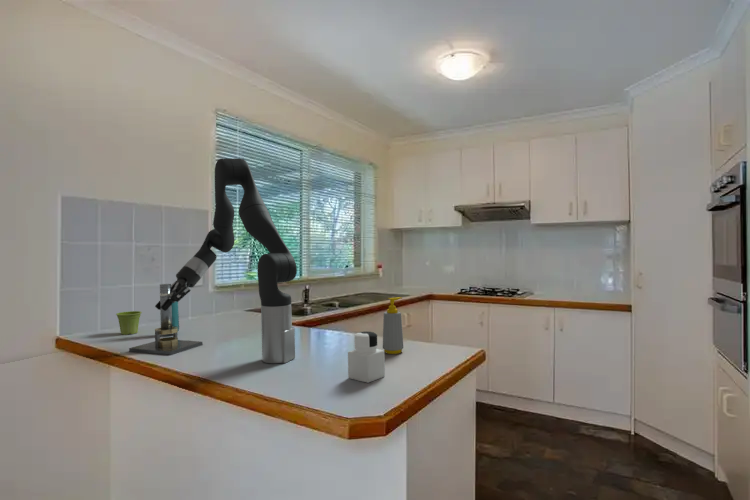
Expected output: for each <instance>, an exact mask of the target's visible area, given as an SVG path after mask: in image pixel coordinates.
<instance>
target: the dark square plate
mask: <svg viewBox="0 0 750 500" xmlns="http://www.w3.org/2000/svg"><path fill="white" fill-rule="evenodd" d="M178 332H179V331H178V327H177V326H174V327H172V329H170V330H161V327H158V328H155V329H154V338H155V339H154V341H151V342H147V343H143V344H140V345H136V346H133V347H128V352H129V353H141V354H142V353H143V354H149V355H150V354H152V355H164V356H173V355H176V354H178V353H182V352H185V351H188V350H192V349H194V348H197V347H201V346H203V341H197V340H182V339H181V340H180V339H179V338H178ZM171 334H172V336H167V337H161V336H162V335H164V336H165V335H171ZM160 335H161V336H160Z"/></svg>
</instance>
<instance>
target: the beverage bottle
mask: <svg viewBox="0 0 750 500" xmlns="http://www.w3.org/2000/svg"><path fill="white" fill-rule="evenodd" d="M179 317H180V313H179V301H178V302H175V303H172V327H174V326H177V327H178V332H179V330H180V318H179Z"/></svg>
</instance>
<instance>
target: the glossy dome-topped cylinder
mask: <svg viewBox="0 0 750 500" xmlns="http://www.w3.org/2000/svg"><path fill="white" fill-rule="evenodd" d="M171 285H172V283H161V284H159V301H160V310H159V312H160V328H161V330H170V329H172V305H171V306H170V307H169V308H168V309H167V310H166V311H164V310H163V309H161V306H162V305H163V303H164V302H165V301H166V300H167V299H168V298H169V296H170V295H171Z"/></svg>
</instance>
